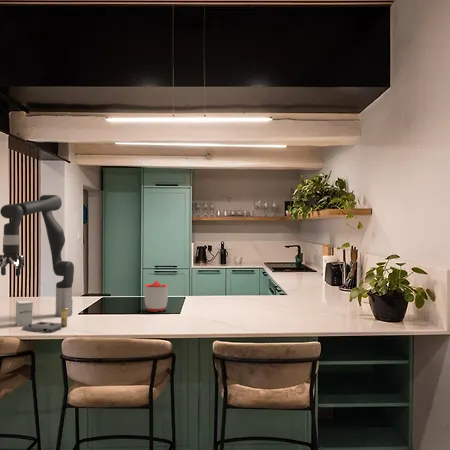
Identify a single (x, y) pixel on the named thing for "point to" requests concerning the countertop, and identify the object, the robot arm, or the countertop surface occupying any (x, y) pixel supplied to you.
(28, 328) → the chain end lower
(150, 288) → the citrus juicer
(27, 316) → the supplement box
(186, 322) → the countertop surface
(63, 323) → the pin
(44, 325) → the chain end upper
